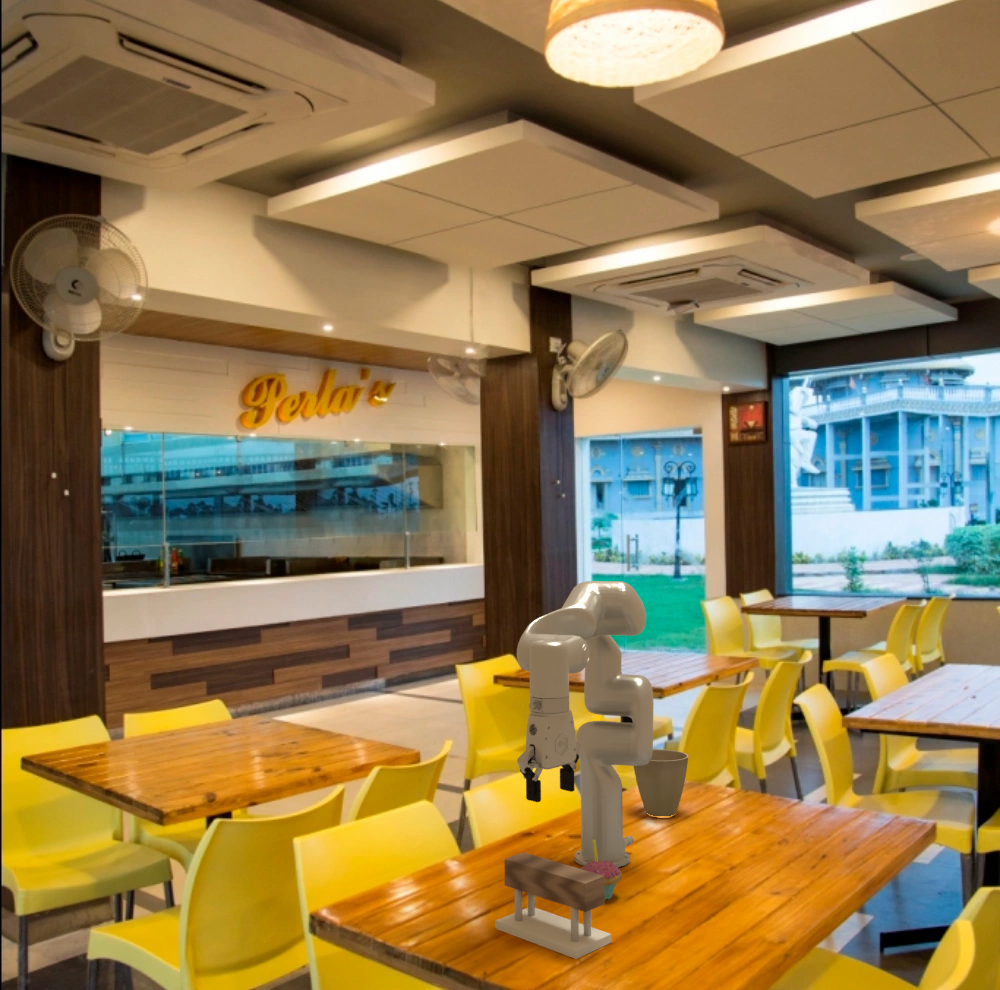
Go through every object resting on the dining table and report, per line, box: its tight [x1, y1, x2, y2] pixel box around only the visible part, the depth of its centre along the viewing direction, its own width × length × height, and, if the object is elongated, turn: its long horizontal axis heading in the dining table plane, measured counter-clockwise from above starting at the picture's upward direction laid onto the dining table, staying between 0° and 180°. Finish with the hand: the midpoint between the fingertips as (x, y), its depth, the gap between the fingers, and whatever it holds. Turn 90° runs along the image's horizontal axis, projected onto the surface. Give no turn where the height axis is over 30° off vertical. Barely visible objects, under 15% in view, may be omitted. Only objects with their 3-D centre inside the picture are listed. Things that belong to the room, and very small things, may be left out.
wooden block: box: [504, 852, 606, 912], centre depth 187 cm, size 20×6×5 cm, turn 46°
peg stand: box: [495, 889, 612, 960], centre depth 186 cm, size 20×10×8 cm, turn 46°
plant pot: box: [633, 749, 689, 816], centre depth 266 cm, size 15×15×16 cm
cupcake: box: [580, 837, 623, 901], centre depth 206 cm, size 9×8×12 cm
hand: (550, 795), depth 190 cm, fingers open, 9 cm apart
